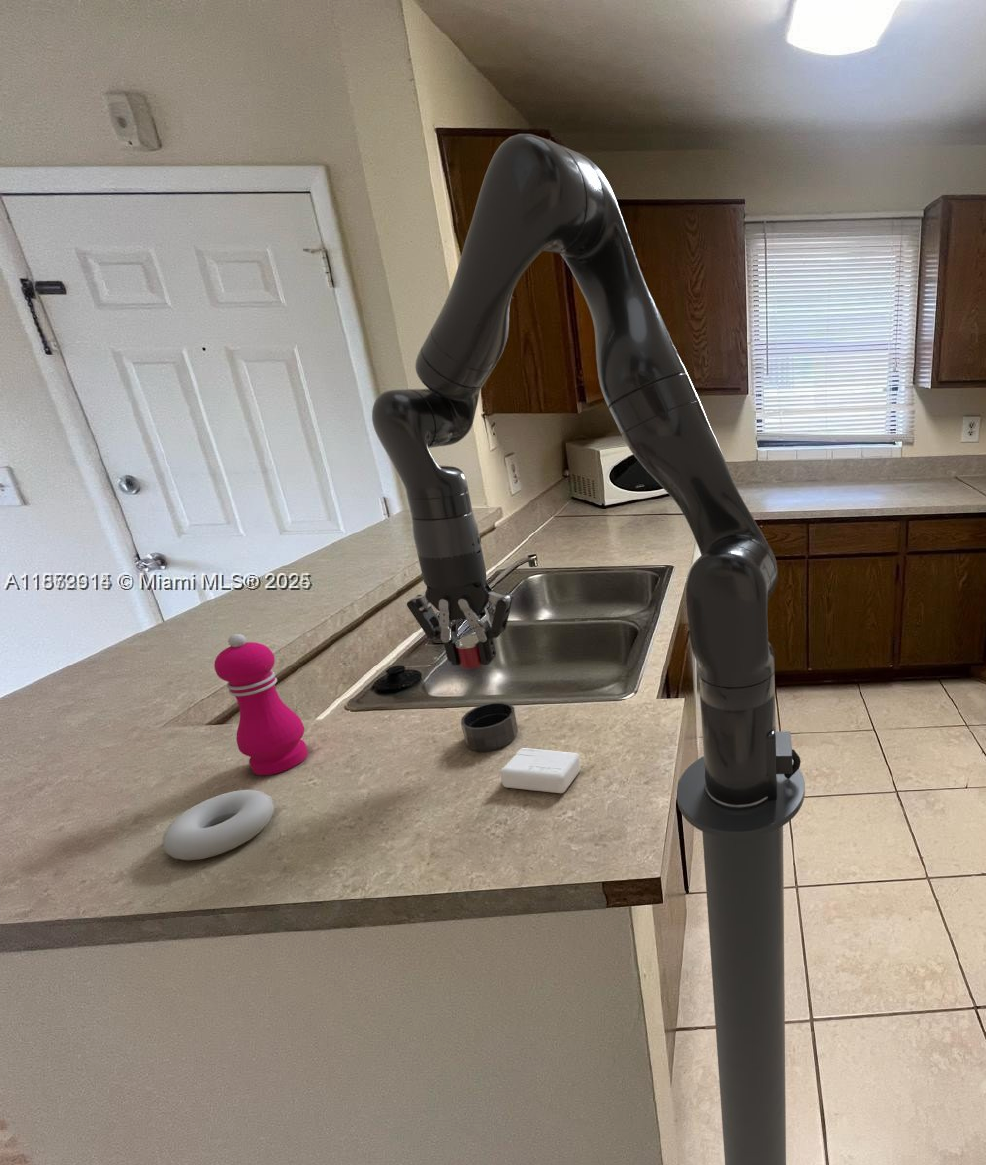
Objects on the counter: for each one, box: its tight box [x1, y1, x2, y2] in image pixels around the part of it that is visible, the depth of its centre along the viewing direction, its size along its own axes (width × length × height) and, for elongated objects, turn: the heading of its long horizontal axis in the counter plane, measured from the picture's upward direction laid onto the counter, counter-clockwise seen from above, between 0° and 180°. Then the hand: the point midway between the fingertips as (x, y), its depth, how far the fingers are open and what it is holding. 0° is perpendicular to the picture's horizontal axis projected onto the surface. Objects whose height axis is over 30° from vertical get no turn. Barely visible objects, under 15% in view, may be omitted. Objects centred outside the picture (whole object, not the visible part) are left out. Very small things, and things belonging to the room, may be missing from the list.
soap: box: [499, 747, 582, 794], centre depth 80 cm, size 9×6×3 cm, turn 81°
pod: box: [455, 634, 483, 669], centre depth 84 cm, size 4×4×4 cm
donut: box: [162, 789, 275, 861], centre depth 71 cm, size 10×4×10 cm
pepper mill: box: [213, 633, 309, 776], centre depth 81 cm, size 7×7×20 cm
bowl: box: [460, 701, 519, 753], centre depth 89 cm, size 7×7×4 cm
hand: (473, 662), depth 84 cm, fingers closed on pod, 3 cm apart
